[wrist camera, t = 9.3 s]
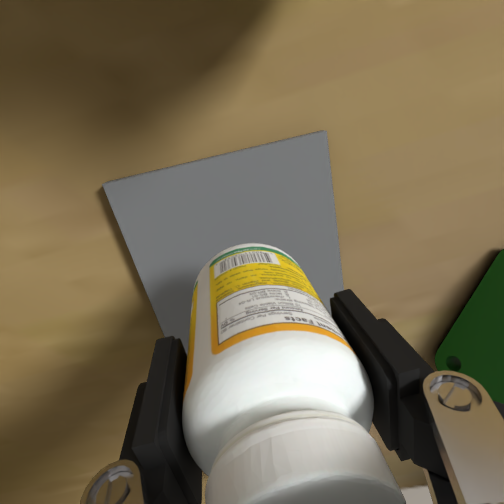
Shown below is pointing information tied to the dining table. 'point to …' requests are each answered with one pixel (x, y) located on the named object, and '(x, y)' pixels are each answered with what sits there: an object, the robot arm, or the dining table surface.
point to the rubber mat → (229, 219)
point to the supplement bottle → (276, 390)
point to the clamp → (479, 335)
